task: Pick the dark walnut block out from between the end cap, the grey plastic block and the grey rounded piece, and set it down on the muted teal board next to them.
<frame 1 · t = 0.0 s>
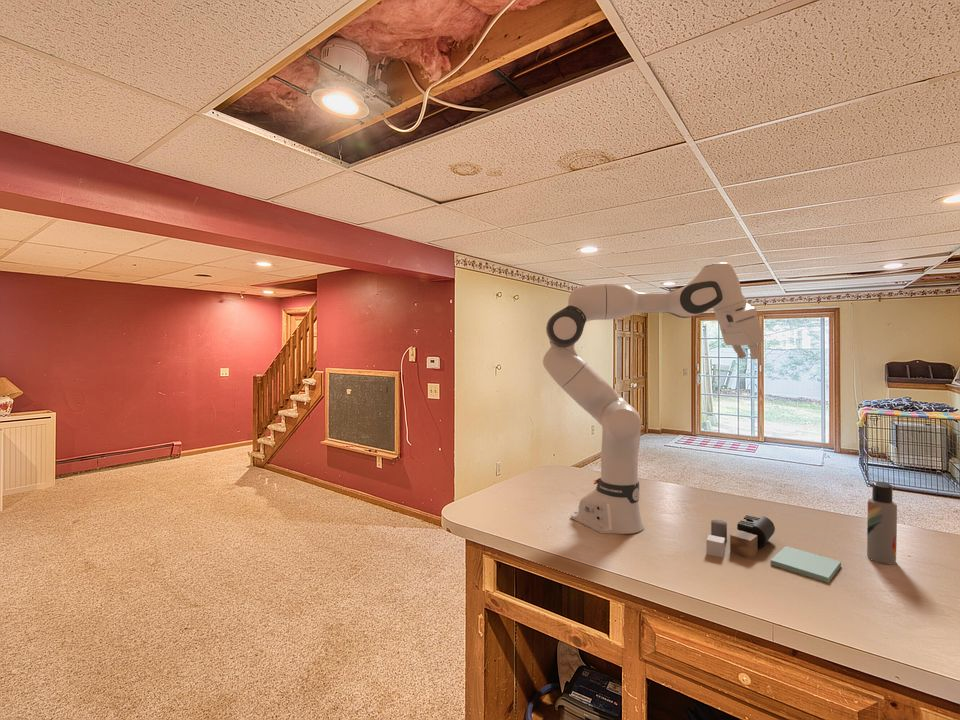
hand: (749, 358, 135), 52 cm above the counter, tool tilted 20°, fingers open, 8 cm apart
lotion bottle: (881, 560, 118), on the counter
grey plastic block: (715, 553, 123), on the counter
teal board: (805, 565, 116), on the counter
walnut block: (743, 553, 123), on the counter
end cap: (756, 544, 129), on the counter
grey rounded piece: (718, 539, 132), on the counter
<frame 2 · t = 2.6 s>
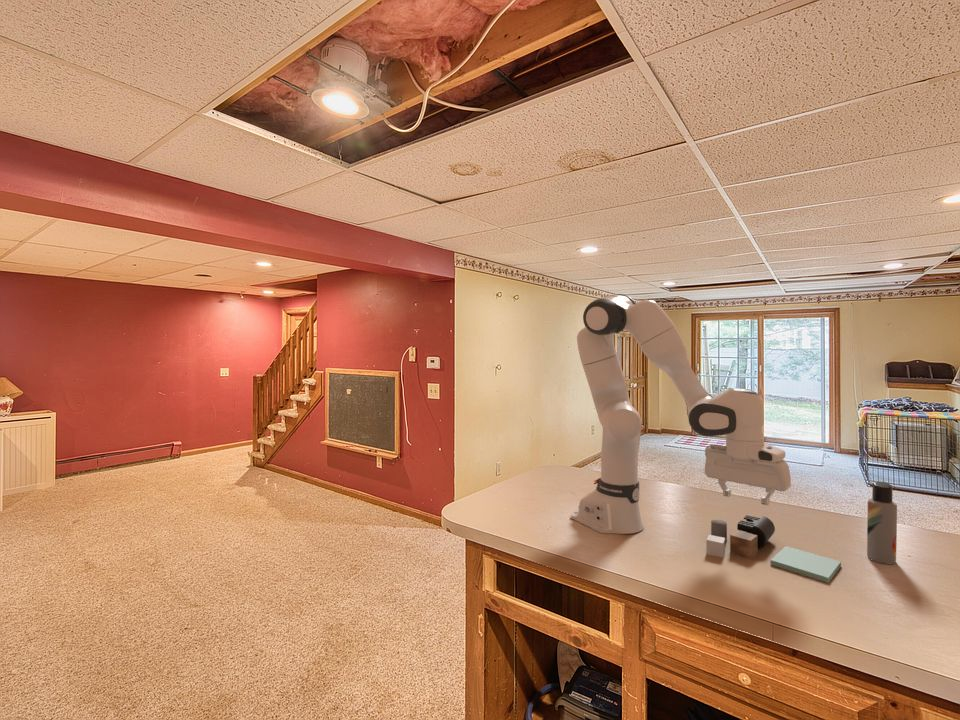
hand: (745, 500, 122), 15 cm above the counter, tool pointing down, fingers open, 8 cm apart
nothing on the counter moved.
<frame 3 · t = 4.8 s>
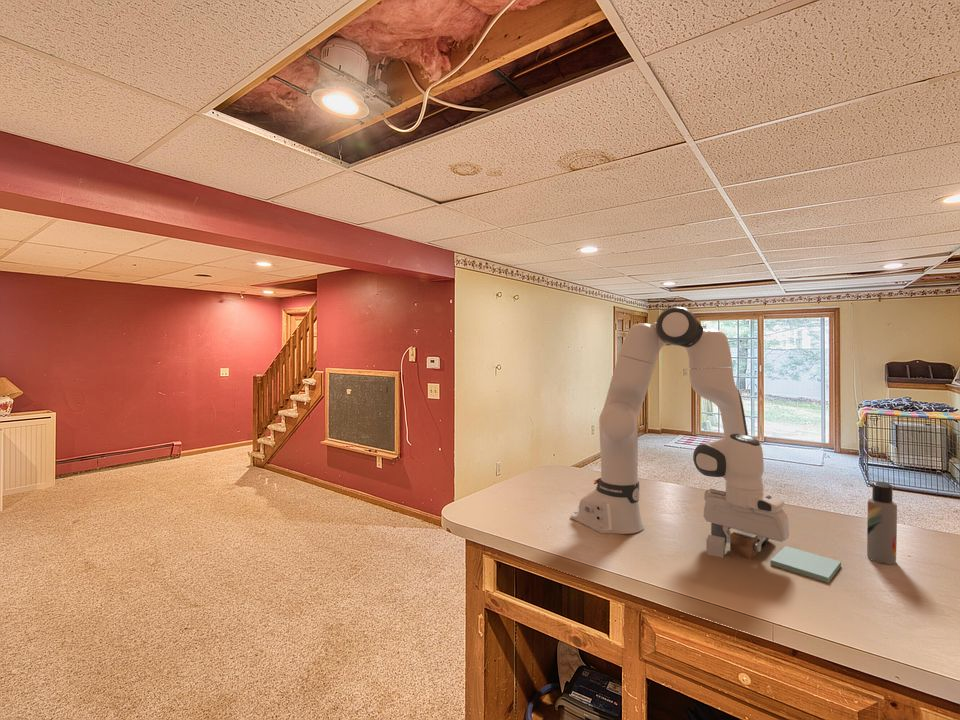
hand: (743, 546, 123), 2 cm above the counter, tool pointing down, fingers closed on walnut block, 5 cm apart
walnut block: (743, 553, 123), on the counter, touching gripper
everything else where it was.
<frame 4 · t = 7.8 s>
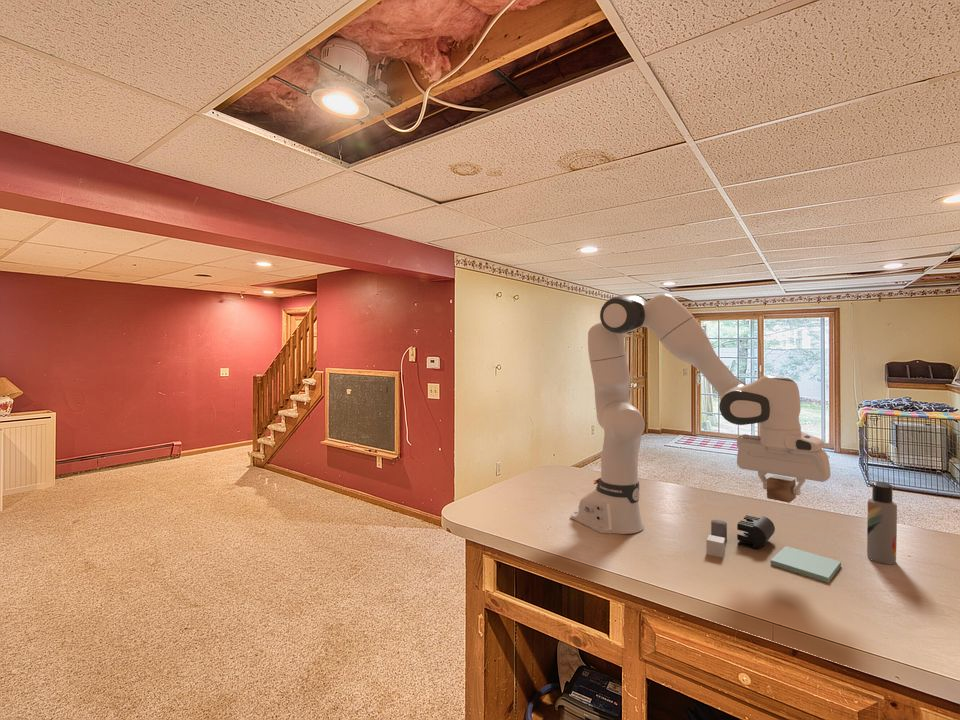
hand: (781, 491, 118), 18 cm above the counter, tool pointing down, fingers closed on walnut block, 5 cm apart
walnut block: (781, 498, 118), point 16 cm above the counter, touching gripper
everything else where it was.
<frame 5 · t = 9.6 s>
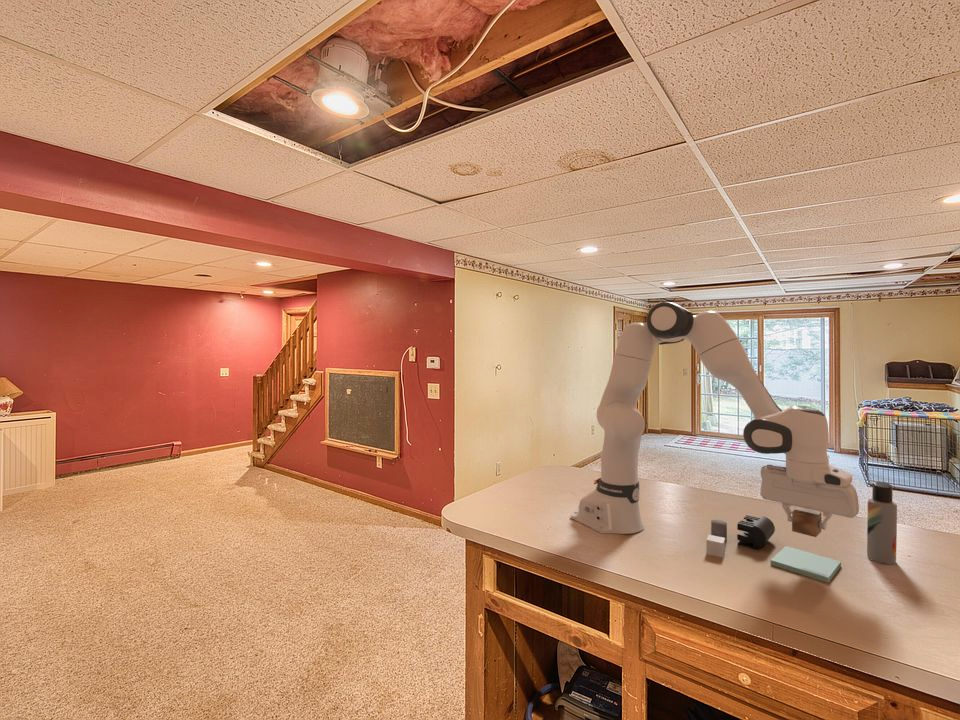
hand: (806, 524, 116), 10 cm above the counter, tool pointing down, fingers closed on walnut block, 5 cm apart
walnut block: (806, 531, 116), point 9 cm above the counter, touching gripper
everything else where it was.
when the fingers open (5 cm above the counter, at t = 11.1 s): walnut block drops 2 cm, resting on teal board.
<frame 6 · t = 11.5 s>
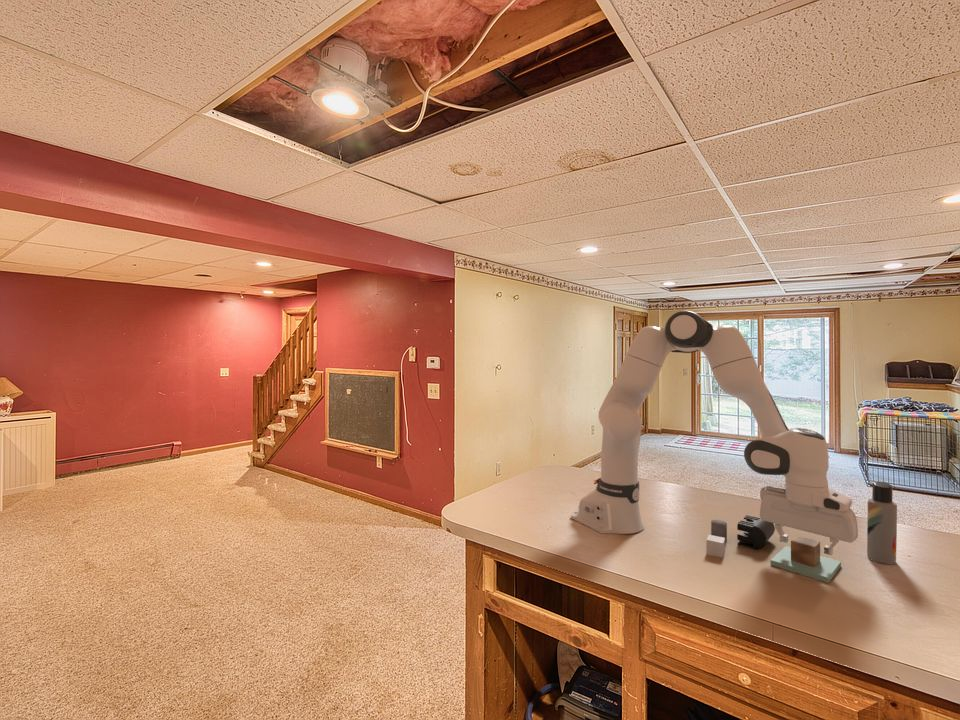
hand: (805, 547, 116), 5 cm above the counter, tool pointing down, fingers open, 8 cm apart
walnut block: (805, 560, 116), point 1 cm above the counter, touching teal board
everything else where it was.
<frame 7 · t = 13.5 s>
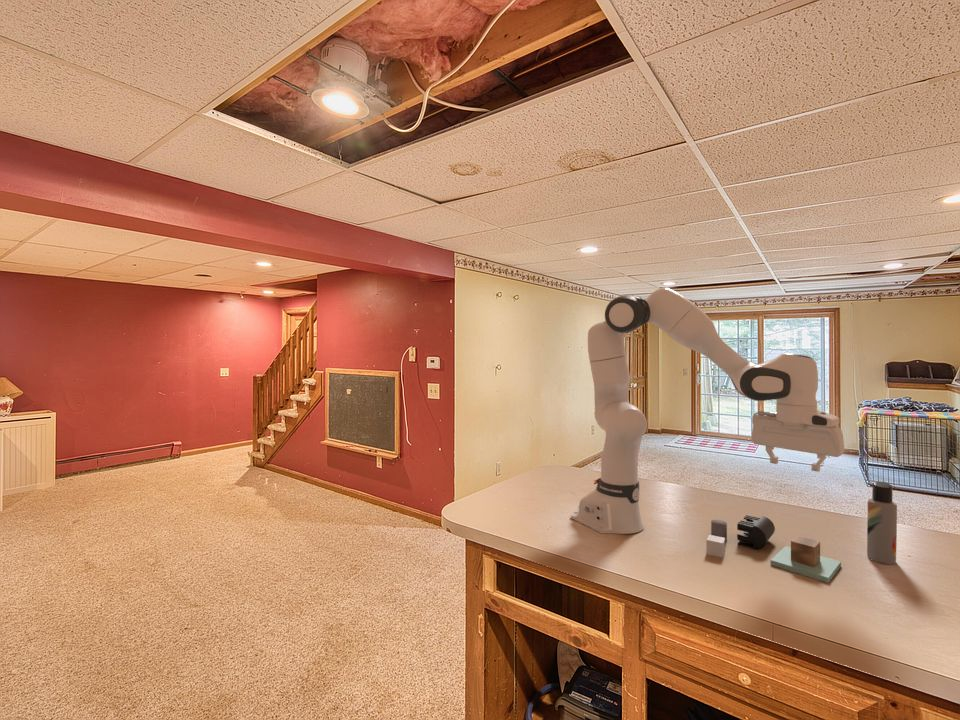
hand: (794, 466, 121), 24 cm above the counter, tool pointing down, fingers open, 8 cm apart
nothing on the counter moved.
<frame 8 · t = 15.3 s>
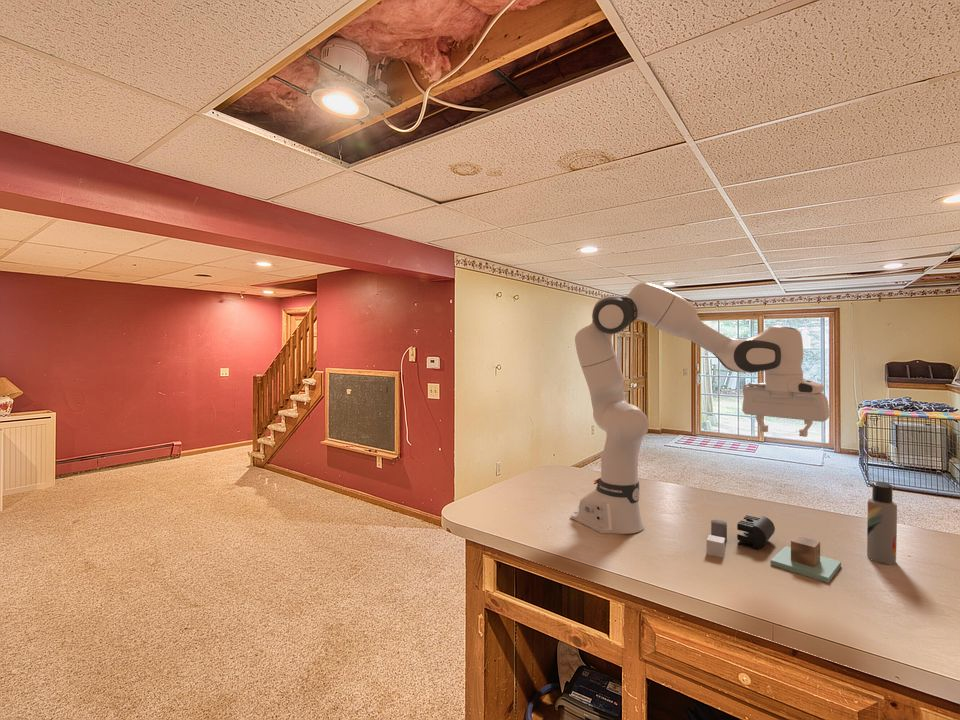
hand: (783, 433, 127), 31 cm above the counter, tool pointing down, fingers open, 8 cm apart
nothing on the counter moved.
at the end: walnut block inside the target area on the teal board (0.1 cm from its centre), point 1.2 cm above the teal board's base; the gripper is holding nothing; end cap moved 0.3 cm from its start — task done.
